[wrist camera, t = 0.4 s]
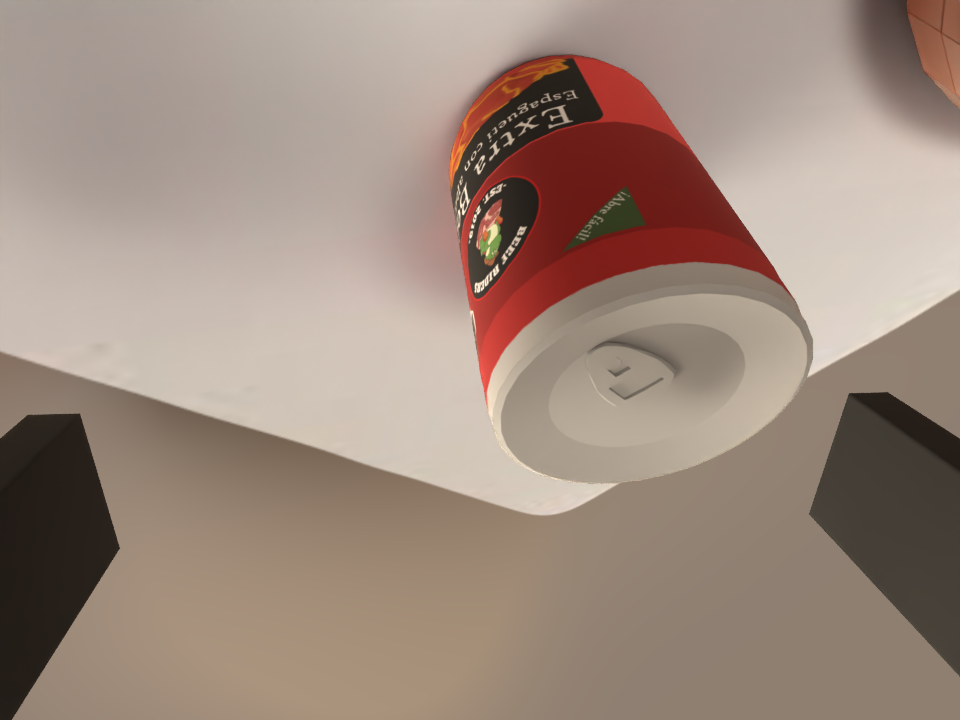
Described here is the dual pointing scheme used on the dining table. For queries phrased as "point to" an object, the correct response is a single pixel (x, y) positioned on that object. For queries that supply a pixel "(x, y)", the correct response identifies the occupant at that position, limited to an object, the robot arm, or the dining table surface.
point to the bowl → (938, 42)
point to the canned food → (612, 282)
